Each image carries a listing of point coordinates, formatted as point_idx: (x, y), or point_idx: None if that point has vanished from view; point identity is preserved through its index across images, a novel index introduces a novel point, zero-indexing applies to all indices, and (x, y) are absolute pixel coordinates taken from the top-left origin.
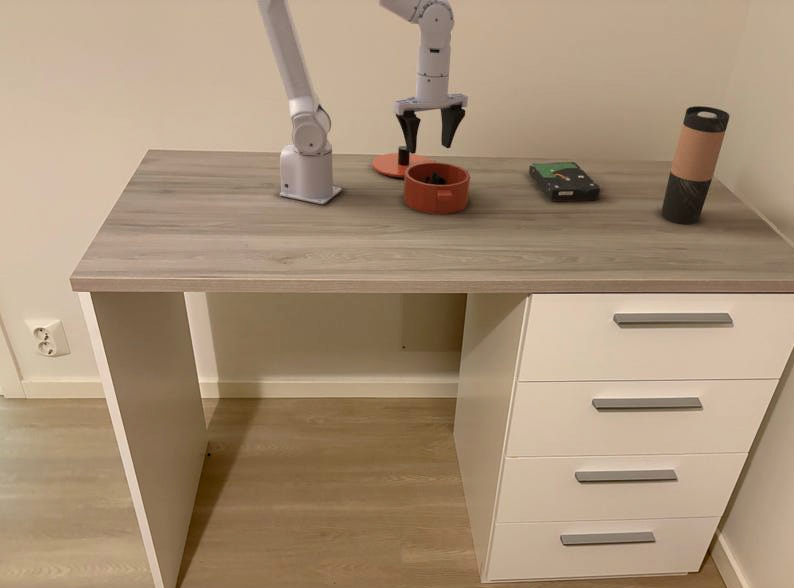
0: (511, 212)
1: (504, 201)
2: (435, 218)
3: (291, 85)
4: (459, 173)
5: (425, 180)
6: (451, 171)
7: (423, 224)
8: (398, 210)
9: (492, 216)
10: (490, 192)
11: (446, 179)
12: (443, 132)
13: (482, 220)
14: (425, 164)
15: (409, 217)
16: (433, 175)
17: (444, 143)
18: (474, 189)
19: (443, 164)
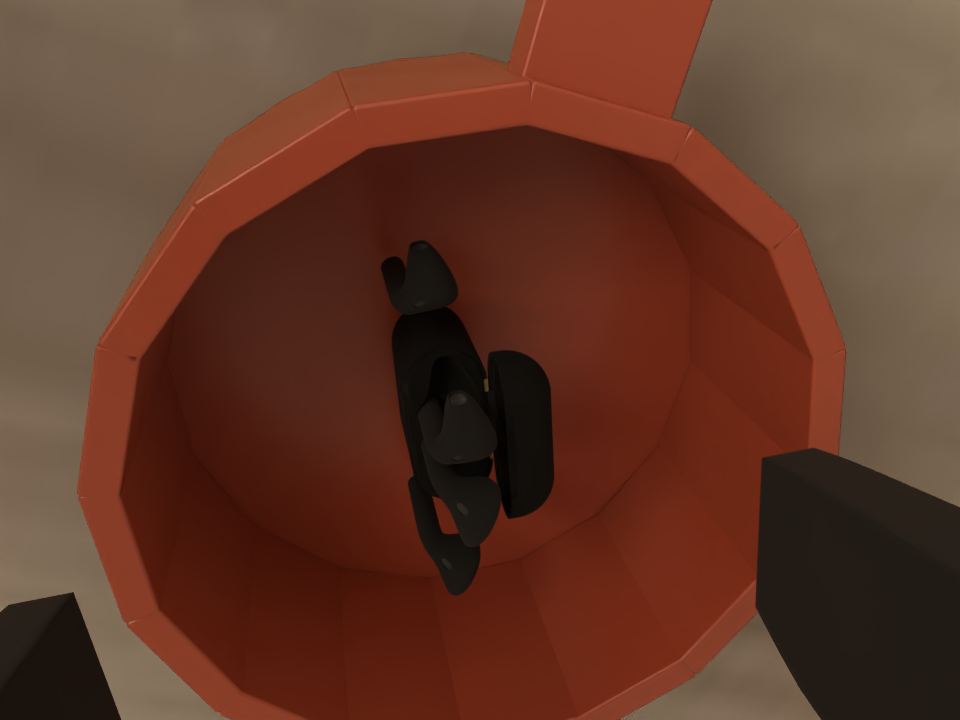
0: None
1: (927, 467)
2: None
3: None
4: (781, 368)
5: (395, 304)
6: (749, 264)
7: (175, 700)
8: (35, 455)
9: None
10: (955, 293)
11: (678, 195)
12: (919, 611)
13: None
14: (501, 128)
15: (99, 588)
16: (447, 461)
17: (783, 562)
18: (885, 199)
19: (719, 210)
